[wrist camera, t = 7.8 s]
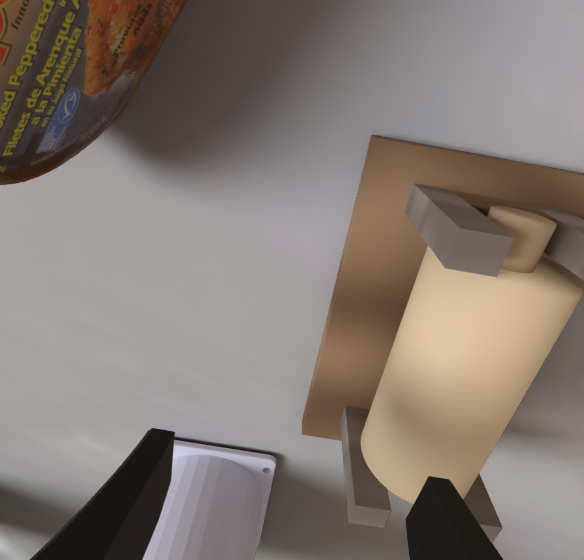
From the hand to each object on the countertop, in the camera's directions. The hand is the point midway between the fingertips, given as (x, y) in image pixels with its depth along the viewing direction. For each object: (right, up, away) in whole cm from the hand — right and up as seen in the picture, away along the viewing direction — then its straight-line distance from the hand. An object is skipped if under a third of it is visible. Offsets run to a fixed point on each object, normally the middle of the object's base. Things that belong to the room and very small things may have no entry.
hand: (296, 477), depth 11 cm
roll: (+7, +3, +7) cm, 10 cm away
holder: (+7, +3, +8) cm, 11 cm away
